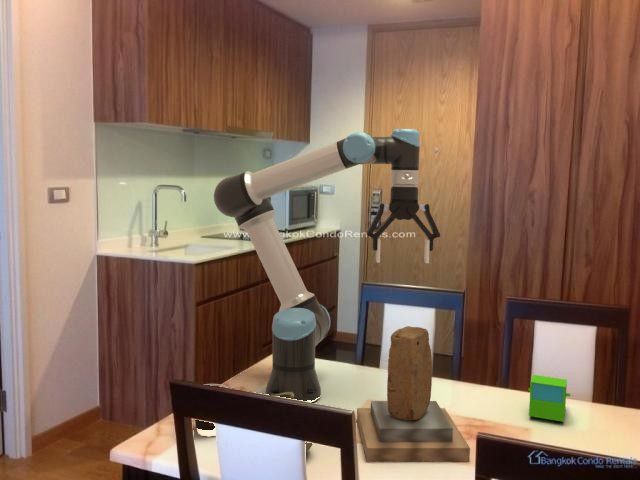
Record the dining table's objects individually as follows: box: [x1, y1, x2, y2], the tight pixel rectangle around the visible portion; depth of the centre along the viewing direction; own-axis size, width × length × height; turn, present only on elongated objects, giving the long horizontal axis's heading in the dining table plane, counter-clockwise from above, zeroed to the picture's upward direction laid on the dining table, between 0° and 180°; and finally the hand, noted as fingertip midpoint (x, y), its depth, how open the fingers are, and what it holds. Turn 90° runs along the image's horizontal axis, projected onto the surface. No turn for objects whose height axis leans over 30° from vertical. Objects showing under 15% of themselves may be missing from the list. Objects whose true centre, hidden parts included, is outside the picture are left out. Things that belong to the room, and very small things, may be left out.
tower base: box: [356, 400, 471, 463], centre depth 136 cm, size 22×22×6 cm
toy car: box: [528, 374, 571, 424], centre depth 152 cm, size 10×13×10 cm
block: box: [386, 325, 433, 421], centre depth 135 cm, size 11×8×20 cm
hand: (402, 262), depth 165 cm, fingers open, 13 cm apart
